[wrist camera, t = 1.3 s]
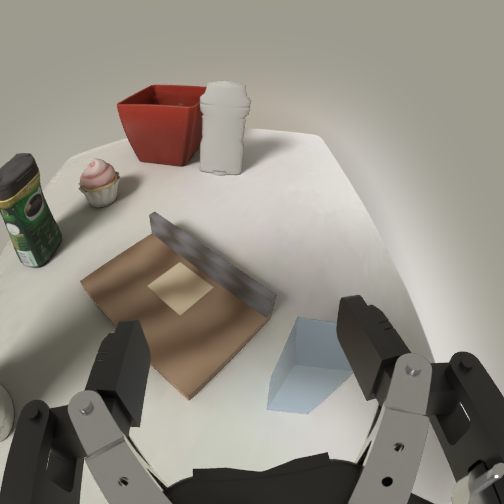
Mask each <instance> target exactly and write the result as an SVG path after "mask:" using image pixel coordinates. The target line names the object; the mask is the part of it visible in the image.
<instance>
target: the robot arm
mask: <svg viewBox="0 0 504 504" xmlns="http://www.w3.org/2000/svg"><path fill="white" fill-rule="evenodd" d="M336 333H337V338H338V341H339V343H340V345H341V347H342V349H343V351H344V353H345V355H346V358H347V360H348V362H349V364H350V366H351V368H352V370H353V372H354V374H355V377H356V379H357V381H358V383H359V385H360V387H361V390H362V392H363V394H364V396H365V398H366V400H367V401H368V400H372V399H375V398H376V399H377V401H378V403H379V404H378V406H377V409H376V412H375V415H374V417H373V420H372V423H371V426H370V429H369V431H368V434H367V437H366V439H365V442H364V444H363V446H362V449H361V451H360V453H359V455H358V457H357V459H356V461H355V463H353V462H350V461H345V460H337V459H329V456H328V452H326V453H322V454H317V455H313V456H308V457H303V458H298V459H294V460H292V461H289V462H287V463H284V464H282V465H279V466H277V467H274V468H271V469H269V470H266V471H262V472H257V471H247V470H239V469H232V468H210V469H193V476H192V477H188V478H185V479H183V480H180V481H178V482H176V483H174V484H173V485H171V486H168V485H167V484H166V483H165V482H164V481H163V480H162V478H161V477H160V476H159V475H158V474H157V473H156V471H155V470H154V469H153V468H152V466H151V465H150V464H149V462H148V461H147V460H146V458H145V457H144V456H143V454H142V453H141V451H140V450H139V449H138V447H137V446H136V444H135V443H134V441H133V440H132V438H131V437H130V436H129V430H130V427H140V422H141V415H142V409H143V402H144V396H145V390H146V384H147V378H148V373H149V367H150V362H151V354H150V348H149V345H148V343H147V340H146V337H145V335H144V332H143V329H142V327H141V324H140V322H139V320H137V319H136V320H120V321H119V323H118V325H117V328H116V331H115V333H109V334H108V336H107V337H106V338H105V339H104V340H103V341H102V343H101V345H100V348H99V351H98V354H97V356H96V359H95V362H94V364H93V367H92V370H91V373H90V376H89V379H88V382H87V385H86V388H85V390H84V391H82V392H79V393H77V394H76V395H75V396H73V397H72V399H71V400H70V402H69V404H68V405H66V406H61V407H56V408H49V406H48V405H47V404H46V403H45V402H44V401H41V400H34V401H31V402H29V403H28V404H26V405H25V406H24V408H23V409H22V411H21V414H20V417H19V420H18V423H17V426H16V430H15V433H14V436H13V440H12V443H11V447H10V451H9V454H8V458H7V463H6V467H5V471H4V476H3V481H2V486H1V491H0V504H79V503H80V491H81V481H82V472H83V464H84V457H86V458H85V461H86V464H87V466H88V468H89V470H90V472H91V474H92V475H93V477H94V479H95V481H96V483H97V484H98V486H99V488H100V490H101V491H102V493H103V495H104V496H105V498H106V500H107V501H108V503H109V504H434V503H432V502H429V501H427V500H425V499H423V498H421V497H419V496H417V495H415V494H413V493H411V491H412V488H413V485H414V481H415V478H416V475H417V471H418V468H419V464H420V461H421V457H422V453H423V449H424V444H425V440H426V435H427V431H428V426H429V420H430V422H431V424H432V426H433V429H434V431H435V433H436V435H437V437H438V440H439V442H440V444H441V446H442V449H443V451H444V453H445V456H446V458H447V460H448V463H449V465H450V467H451V470H452V472H453V475H454V477H455V480H456V482H457V483H456V485H455V487H454V489H453V494H452V498H451V502H452V504H504V397H503V395H502V394H501V392H500V391H499V389H498V388H497V386H496V385H495V383H494V382H493V380H492V379H491V377H490V376H489V374H488V373H487V371H486V370H485V368H484V367H483V365H482V364H481V363H480V361H479V360H478V358H476V357H475V356H474V355H473V354H471V353H468V352H457V353H455V354H454V355H453V356H452V358H451V360H450V362H449V363H430V362H429V361H428V360H427V359H426V358H425V357H423V356H421V355H419V354H415V353H411V352H410V350H409V349H408V347H407V346H406V345H405V343H404V342H403V340H402V339H401V337H400V336H399V334H398V333H397V332H396V330H395V329H393V326H392V324H391V323H390V322H388V319H387V317H386V316H385V315H384V313H383V312H382V311H381V310H379V309H378V308H376V307H375V306H373V305H369V306H368V305H367V304H366V303H365V301H364V300H363V298H362V297H361V296H360V295H355V296H349V297H343V298H341V300H340V304H339V312H338V319H337V326H336ZM460 403H461V404H462V405H463V407H464V409H465V411H466V413H467V414H468V416H469V418H470V421H469V419H468V417H467V415H466V414H465V412H464V410H463V408H462V406H461V404H460ZM13 421H14V407H13V403H12V400H11V397H10V395H9V393H8V392H7V390H6V389H5V388H4V387H3V386H1V385H0V441H2V440H4V439H5V438H6V437H7V436H8V434H9V433H10V431H11V429H12V426H13ZM49 453H50V456H49ZM87 456H88V457H87ZM48 458H49V461H48ZM47 463H48V466H47Z"/></svg>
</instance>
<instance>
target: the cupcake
mask: <svg viewBox="0 0 504 504" xmlns="http://www.w3.org/2000/svg"><path fill="white" fill-rule="evenodd" d="M119 180H120V176H119V172H115V170H114V168H113V166H112V165H110V164H108V163H106V162H105V161H104V160H101V159H93V160H92V163H90V164H88V165H87V166H86V167H85V169H84V172H83V173H82V175H81V177H80V183H78V184H79V185H80V188H79V190H80V191H81V192H82V193H83V194H84V195H85V197H86V198H87V200H88V202H89V203H90V205H92V206H93V207H97V208H99V207H105V206H108V205H110V204H111V203H113V202H114V201H115V199H116V197H117V189H118V183H119Z"/></svg>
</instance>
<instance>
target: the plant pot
mask: <svg viewBox="0 0 504 504" xmlns="http://www.w3.org/2000/svg"><path fill="white" fill-rule="evenodd" d="M206 88H207V87H199V86H182V85H181V86H180V85H151V86H149V87H147V88H145V89H143V90H141V91H139V92H137V93H136V94H134V95H132V96H130V97H128V98H126V99H125V100H123V101H121V102H119V103H118V104H117V108H118V112H119V116H120V119H121V122H122V125H123V128H124V131H125V133H126V136H127V138H128V140H129V142H130V144H131V146H132V148H133V150H134V152H135V154H136V156H137V157H138V159H139V160H140V161H141V162H149V163H158V164H166V165H174V166H185V165H186V164H187V162H188V161H189V160H190V158H191V157H192V156H193V155H194V153H195V152H196V151H197V149H198V148H199V147H200V143H201V140H202V137H203V135H202V134H203V133H202V130H203V128H202V126H203V125H202V124H203V121H202V119H203V118H202V115H203V113H202V112H201V111H200V96H202V95H203V94H205V91H206Z"/></svg>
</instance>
